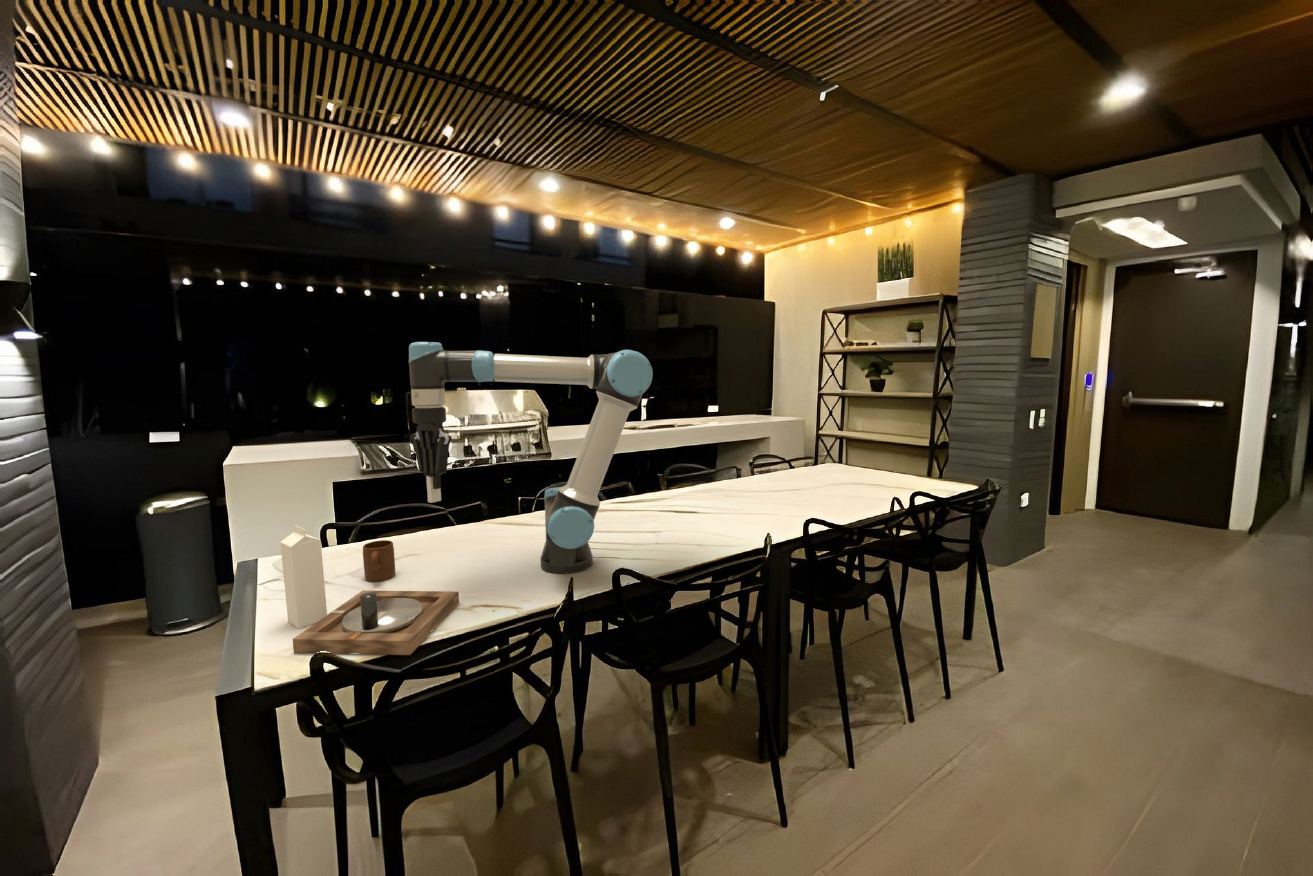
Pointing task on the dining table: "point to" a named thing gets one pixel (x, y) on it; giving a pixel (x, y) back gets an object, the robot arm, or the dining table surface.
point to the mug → (379, 560)
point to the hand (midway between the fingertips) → (434, 501)
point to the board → (398, 642)
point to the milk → (303, 578)
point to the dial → (381, 614)
